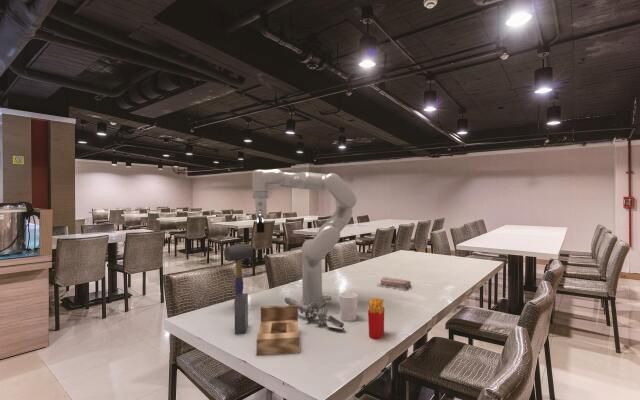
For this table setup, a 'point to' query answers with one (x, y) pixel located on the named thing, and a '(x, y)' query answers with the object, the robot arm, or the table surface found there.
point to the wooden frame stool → (278, 330)
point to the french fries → (376, 318)
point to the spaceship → (316, 314)
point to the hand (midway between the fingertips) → (260, 231)
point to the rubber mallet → (238, 261)
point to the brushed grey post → (241, 313)
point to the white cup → (348, 306)
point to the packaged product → (395, 283)
